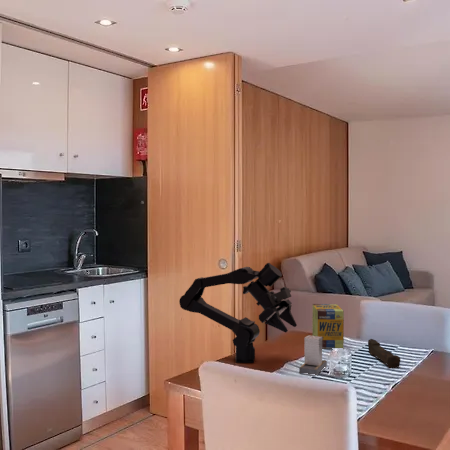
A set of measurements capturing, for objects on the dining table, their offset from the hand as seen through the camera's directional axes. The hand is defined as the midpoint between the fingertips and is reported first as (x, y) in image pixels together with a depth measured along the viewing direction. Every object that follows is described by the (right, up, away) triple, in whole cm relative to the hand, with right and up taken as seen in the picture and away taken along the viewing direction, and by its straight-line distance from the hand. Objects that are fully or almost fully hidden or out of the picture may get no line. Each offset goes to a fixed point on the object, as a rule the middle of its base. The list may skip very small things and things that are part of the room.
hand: (291, 328), depth 184 cm
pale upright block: (+7, -11, -3) cm, 14 cm away
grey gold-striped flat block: (+7, -13, -3) cm, 16 cm away
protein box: (+18, -13, +30) cm, 37 cm away
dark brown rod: (+33, -13, +9) cm, 37 cm away
